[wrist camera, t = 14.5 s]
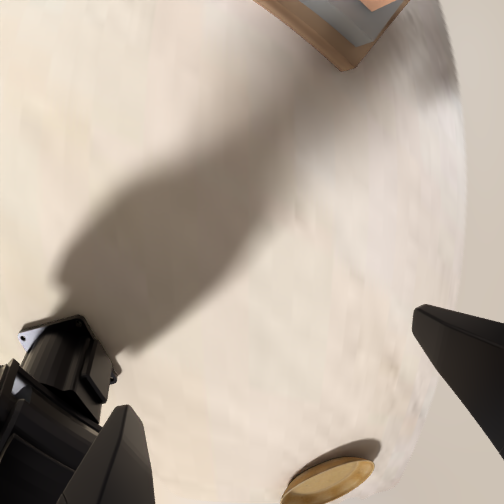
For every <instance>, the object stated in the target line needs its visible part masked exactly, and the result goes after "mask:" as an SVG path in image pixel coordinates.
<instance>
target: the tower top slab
mask: <svg viewBox="0 0 504 504" xmlns="http://www.w3.org/2000/svg"><path fill="white" fill-rule="evenodd" d="M299 1H300V2H302V3H303V4H304V5H306V6H307V7H308V8H310V9H311V10H312V11H314V12H315V13H316V14H317V15H319V16H320V17H321V18H322V19H324V20H325V21H326V22H327V23H329V24H330V25H331V26H332V27H333V28H334V29H336V30H337V31H338V32H339V33H340V34H341V35H343V36H344V37H345V38H346V39H347V40H348V41H349V42H350V43H352V44H353V45H354V46H355V47H358V46H361V45H364V44H367V43H370V42H373V41H374V40H375V39H376V37H377V36H378V34H379V33H380V32H381V30H382V29H383V28H384V26H385V25H386V24H387V22H388V21H389V20H390V18H391V17H392V16H393V14H394V13H395V12H396V10H397V9H398V7H399V6H400V5H401V3H402V2H403V1H404V0H396V1H394V2H391V3H389V4H387V5H385V6H383V7H381V8H379V9H377V10H375V11H373V12H371V11H370V10H369V9H368V8H367V7H366V6H365V5H364V4H363V3H362V2H361V1H360V0H299Z"/></svg>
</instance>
